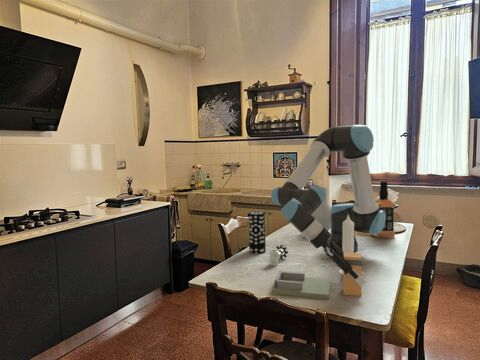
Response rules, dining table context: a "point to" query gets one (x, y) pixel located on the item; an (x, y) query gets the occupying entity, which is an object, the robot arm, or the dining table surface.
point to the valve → (277, 255)
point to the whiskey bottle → (386, 212)
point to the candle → (348, 237)
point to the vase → (324, 212)
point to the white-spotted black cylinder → (257, 232)
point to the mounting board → (301, 285)
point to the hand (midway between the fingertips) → (362, 280)
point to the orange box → (348, 282)
